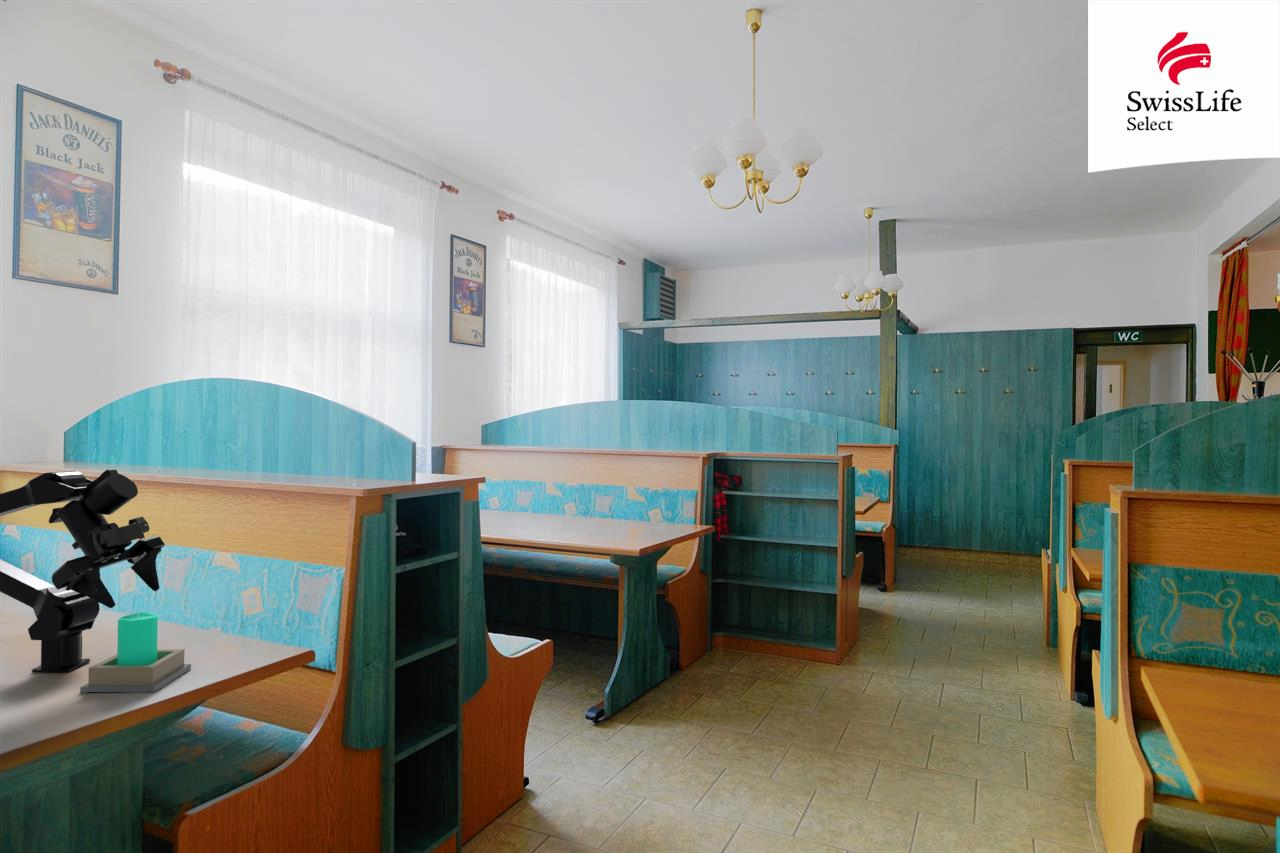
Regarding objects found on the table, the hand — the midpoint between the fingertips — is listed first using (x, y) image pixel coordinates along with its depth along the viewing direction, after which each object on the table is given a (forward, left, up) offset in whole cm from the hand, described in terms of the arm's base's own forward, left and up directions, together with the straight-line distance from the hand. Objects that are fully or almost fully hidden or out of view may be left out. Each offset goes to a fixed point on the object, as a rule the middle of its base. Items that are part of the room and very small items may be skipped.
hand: (136, 598), depth 137 cm
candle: (-6, -4, -13) cm, 14 cm away
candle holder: (-6, -4, -13) cm, 15 cm away
